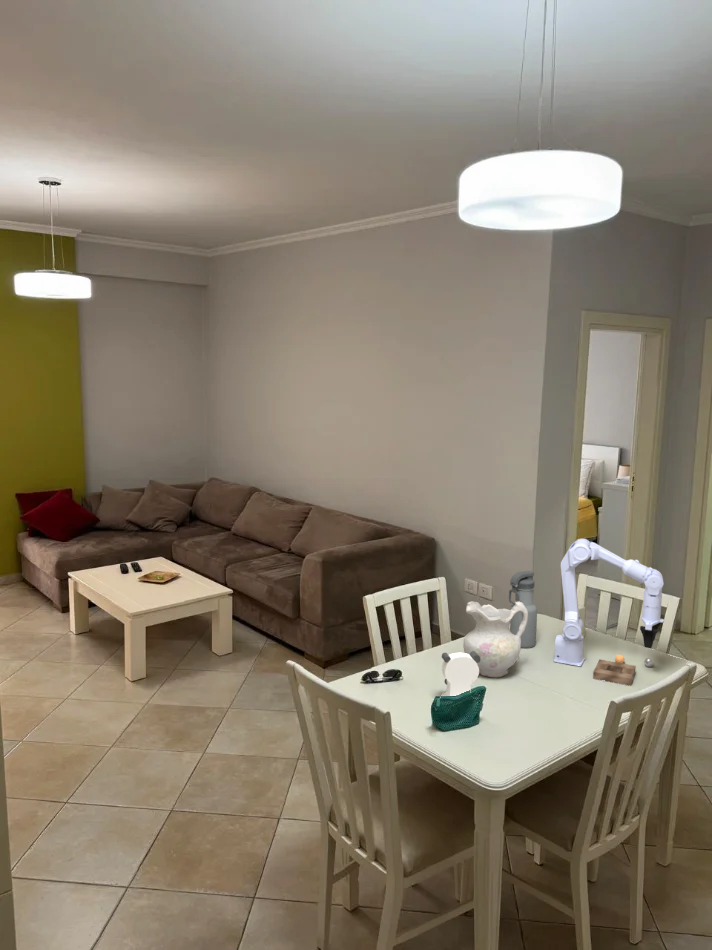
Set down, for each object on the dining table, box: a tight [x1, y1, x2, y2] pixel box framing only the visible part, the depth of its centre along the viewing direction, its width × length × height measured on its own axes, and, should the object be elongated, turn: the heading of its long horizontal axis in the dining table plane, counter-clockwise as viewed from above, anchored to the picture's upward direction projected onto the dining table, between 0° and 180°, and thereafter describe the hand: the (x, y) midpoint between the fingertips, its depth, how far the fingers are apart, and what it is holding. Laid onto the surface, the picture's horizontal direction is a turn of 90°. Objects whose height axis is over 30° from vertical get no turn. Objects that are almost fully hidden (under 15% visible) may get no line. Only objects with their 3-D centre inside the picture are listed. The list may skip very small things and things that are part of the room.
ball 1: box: [614, 654, 625, 664], centre depth 258 cm, size 3×3×3 cm
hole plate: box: [592, 659, 637, 686], centre depth 247 cm, size 12×12×2 cm
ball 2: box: [643, 656, 655, 668], centre depth 255 cm, size 3×3×3 cm
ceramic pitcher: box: [462, 601, 528, 679], centre depth 250 cm, size 22×20×25 cm
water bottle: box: [508, 570, 538, 649], centre depth 274 cm, size 10×10×28 cm
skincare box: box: [578, 604, 586, 638], centre depth 284 cm, size 6×4×12 cm
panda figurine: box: [440, 651, 481, 697], centre depth 228 cm, size 12×11×15 cm
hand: (649, 643), depth 250 cm, fingers open, 7 cm apart
